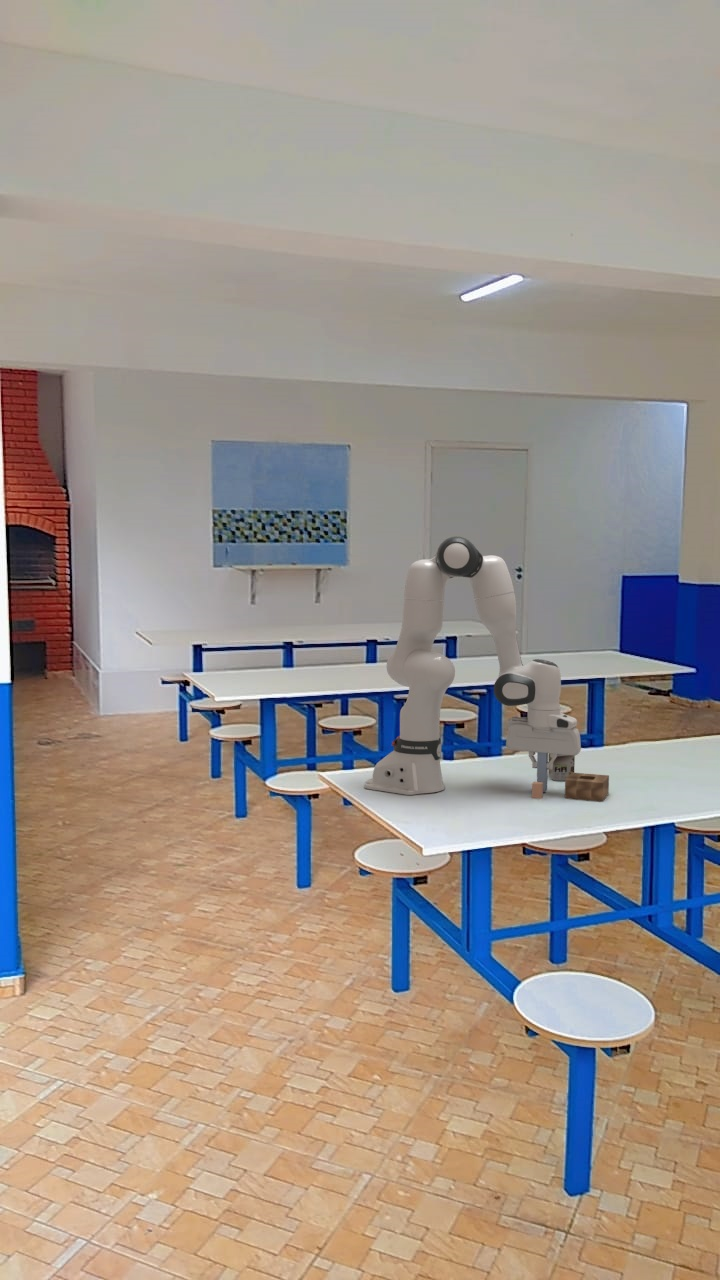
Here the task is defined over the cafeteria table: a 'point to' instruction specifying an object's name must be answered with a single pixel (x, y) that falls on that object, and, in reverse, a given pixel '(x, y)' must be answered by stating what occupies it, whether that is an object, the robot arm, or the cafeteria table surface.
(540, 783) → the short peg
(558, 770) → the coffee box
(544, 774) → the long peg
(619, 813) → the cafeteria table surface
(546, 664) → the robot arm
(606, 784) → the hole block
